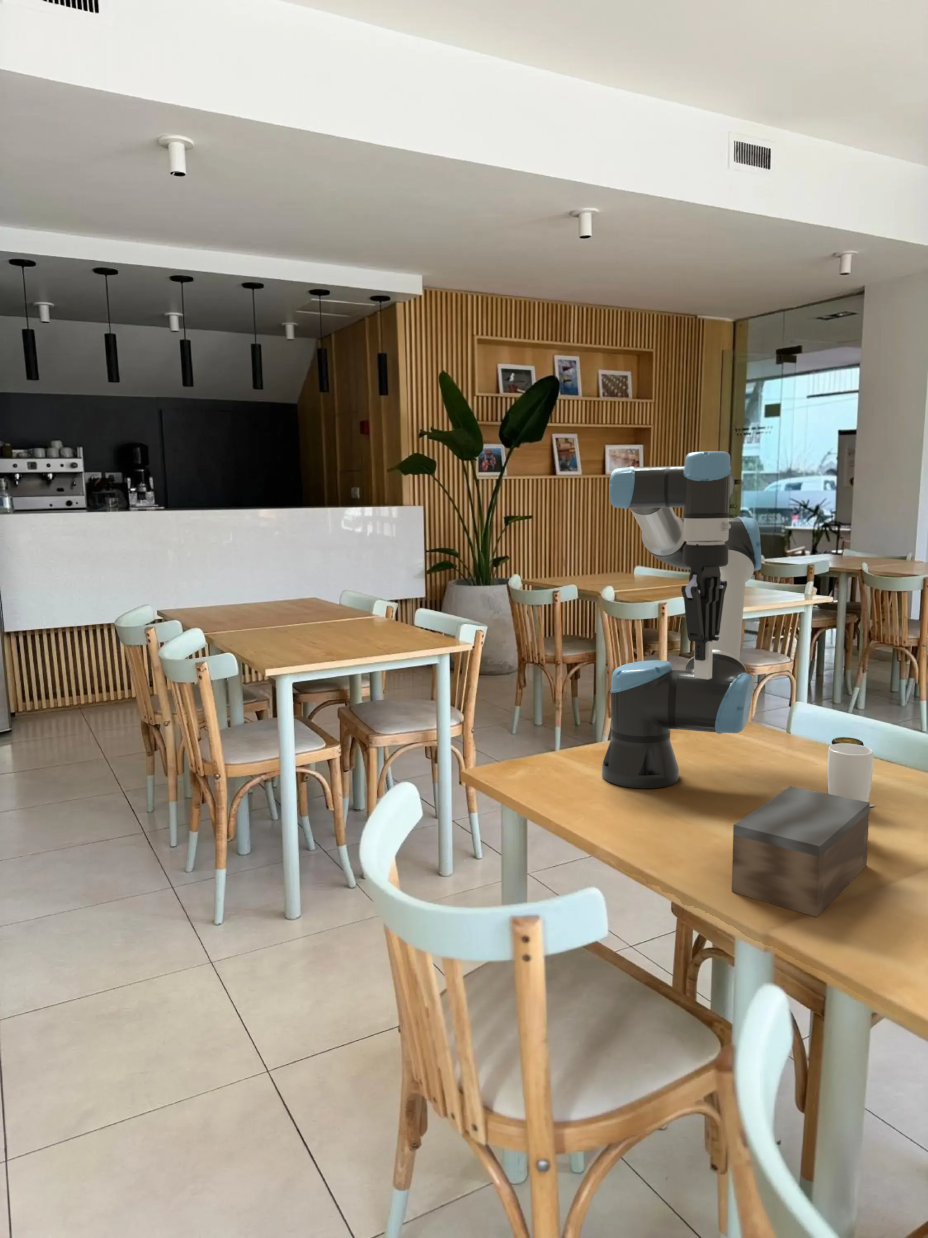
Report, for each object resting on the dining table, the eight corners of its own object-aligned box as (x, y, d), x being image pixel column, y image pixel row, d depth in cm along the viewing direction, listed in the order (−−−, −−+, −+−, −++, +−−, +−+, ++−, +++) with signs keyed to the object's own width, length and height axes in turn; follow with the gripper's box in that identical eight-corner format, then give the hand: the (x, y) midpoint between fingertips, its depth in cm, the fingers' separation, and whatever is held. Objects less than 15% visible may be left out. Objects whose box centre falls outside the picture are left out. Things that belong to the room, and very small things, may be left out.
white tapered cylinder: (816, 830, 146) (820, 743, 144) (855, 828, 147) (859, 742, 145) (837, 846, 139) (841, 756, 137) (877, 844, 140) (882, 754, 138)
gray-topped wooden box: (731, 891, 124) (733, 825, 123) (788, 845, 140) (790, 786, 139) (816, 917, 116) (819, 846, 115) (866, 865, 132) (869, 802, 131)
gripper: (709, 545, 142) (705, 687, 145) (742, 541, 151) (739, 674, 155) (667, 544, 147) (665, 681, 150) (702, 540, 156) (700, 669, 160)
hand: (702, 677), depth 152 cm, fingers closed
